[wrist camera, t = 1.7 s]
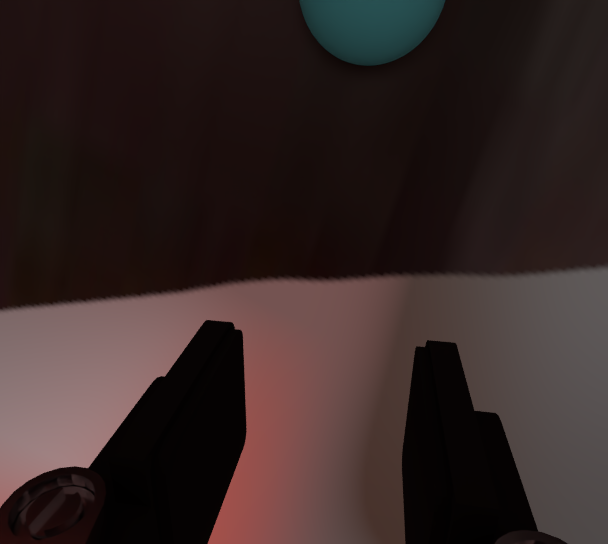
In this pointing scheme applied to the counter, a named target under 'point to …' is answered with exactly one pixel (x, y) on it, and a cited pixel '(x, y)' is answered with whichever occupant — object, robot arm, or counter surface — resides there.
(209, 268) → the counter surface
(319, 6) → the ball
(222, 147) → the counter surface
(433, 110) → the counter surface
